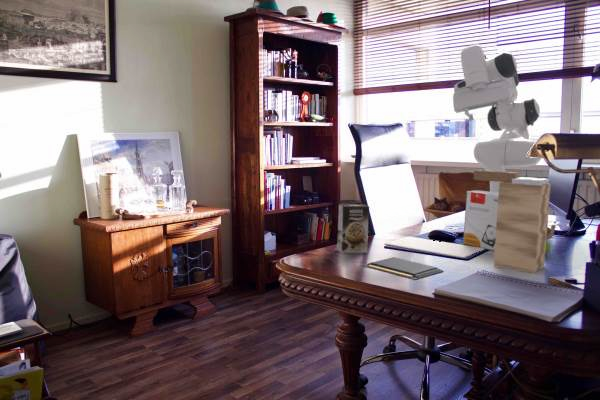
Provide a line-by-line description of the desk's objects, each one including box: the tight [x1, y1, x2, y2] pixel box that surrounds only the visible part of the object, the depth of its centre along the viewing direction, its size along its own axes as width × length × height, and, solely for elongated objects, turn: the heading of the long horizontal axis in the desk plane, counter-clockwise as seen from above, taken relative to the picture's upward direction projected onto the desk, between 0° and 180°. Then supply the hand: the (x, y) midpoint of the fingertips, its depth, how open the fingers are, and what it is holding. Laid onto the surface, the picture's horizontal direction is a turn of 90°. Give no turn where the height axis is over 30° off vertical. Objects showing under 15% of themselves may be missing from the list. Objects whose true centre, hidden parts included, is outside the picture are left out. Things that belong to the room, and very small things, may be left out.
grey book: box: [362, 256, 444, 281], centre depth 157 cm, size 20×2×15 cm
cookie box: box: [336, 203, 370, 255], centre depth 178 cm, size 9×6×16 cm
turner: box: [473, 169, 550, 186], centre depth 162 cm, size 9×21×3 cm, turn 50°
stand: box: [493, 182, 552, 274], centre depth 161 cm, size 10×12×26 cm
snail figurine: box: [545, 221, 557, 256], centre depth 178 cm, size 5×6×12 cm
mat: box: [384, 235, 485, 259], centre depth 188 cm, size 18×30×1 cm, turn 50°
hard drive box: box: [462, 189, 499, 252], centre depth 189 cm, size 16×8×20 cm, turn 41°
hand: (484, 117), depth 192 cm, fingers open, 8 cm apart
